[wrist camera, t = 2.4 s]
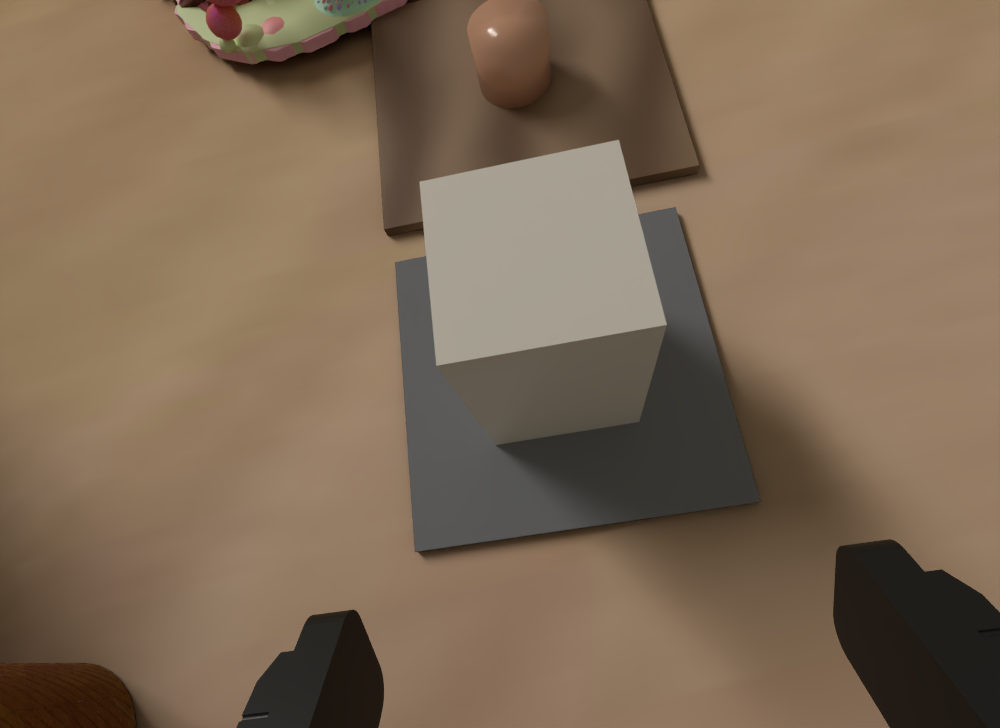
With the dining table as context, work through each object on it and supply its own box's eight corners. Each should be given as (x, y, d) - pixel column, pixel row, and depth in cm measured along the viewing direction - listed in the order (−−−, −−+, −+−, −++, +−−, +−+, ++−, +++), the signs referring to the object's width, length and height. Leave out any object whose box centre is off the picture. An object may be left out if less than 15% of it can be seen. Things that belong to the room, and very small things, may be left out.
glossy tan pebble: (465, 89, 32) (451, 34, 29) (510, 42, 33) (501, -17, 29) (520, 119, 31) (512, 65, 27) (566, 69, 31) (563, 11, 28)
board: (387, 235, 30) (383, 229, 29) (374, 21, 36) (370, 12, 35) (697, 173, 28) (699, 165, 28) (629, -41, 34) (630, -51, 34)
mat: (417, 552, 24) (414, 551, 24) (397, 266, 29) (394, 262, 29) (758, 502, 23) (760, 501, 22) (674, 212, 28) (675, 207, 27)
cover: (495, 445, 25) (436, 365, 16) (479, 317, 27) (419, 181, 18) (639, 421, 24) (666, 324, 15) (610, 293, 26) (618, 139, 17)
